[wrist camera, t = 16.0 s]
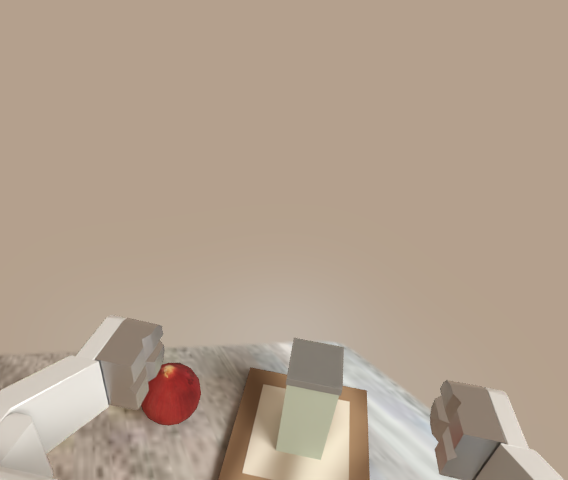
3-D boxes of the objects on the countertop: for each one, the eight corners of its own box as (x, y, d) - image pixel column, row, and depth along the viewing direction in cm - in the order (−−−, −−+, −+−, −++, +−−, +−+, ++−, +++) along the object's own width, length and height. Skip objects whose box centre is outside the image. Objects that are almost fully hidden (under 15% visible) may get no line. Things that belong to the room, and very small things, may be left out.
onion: (169, 384, 44) (164, 334, 40) (211, 405, 43) (211, 356, 38) (132, 425, 40) (123, 374, 36) (178, 451, 38) (174, 401, 34)
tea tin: (274, 451, 38) (286, 378, 32) (282, 409, 42) (294, 337, 36) (321, 461, 38) (342, 389, 32) (324, 417, 42) (343, 347, 36)
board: (214, 496, 35) (214, 490, 34) (249, 373, 47) (250, 367, 46) (368, 531, 34) (371, 526, 33) (364, 396, 46) (366, 390, 45)
